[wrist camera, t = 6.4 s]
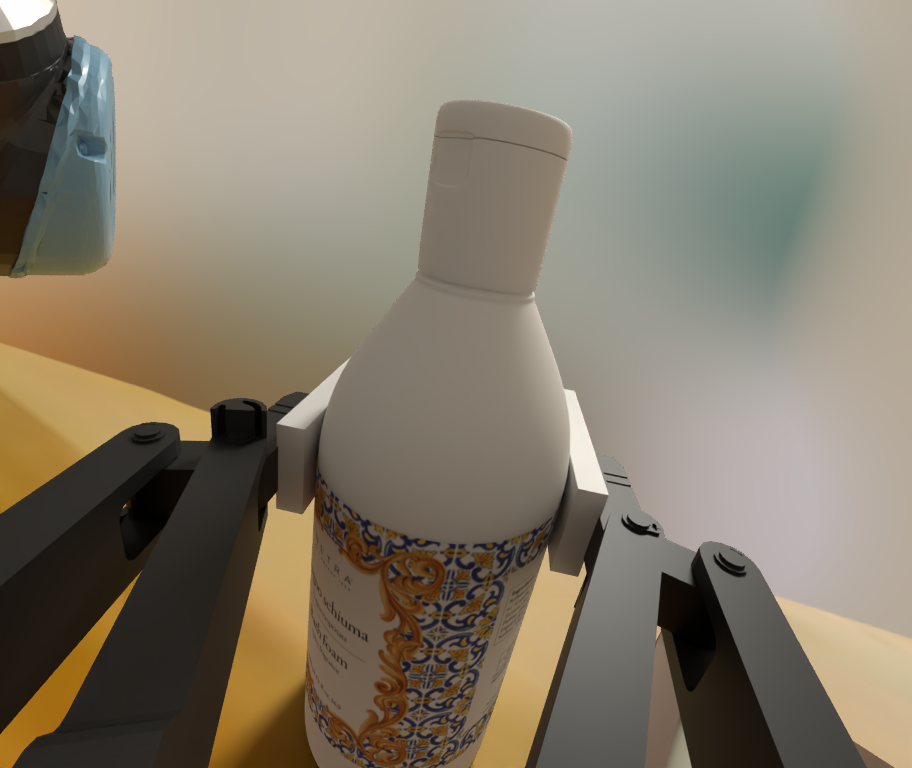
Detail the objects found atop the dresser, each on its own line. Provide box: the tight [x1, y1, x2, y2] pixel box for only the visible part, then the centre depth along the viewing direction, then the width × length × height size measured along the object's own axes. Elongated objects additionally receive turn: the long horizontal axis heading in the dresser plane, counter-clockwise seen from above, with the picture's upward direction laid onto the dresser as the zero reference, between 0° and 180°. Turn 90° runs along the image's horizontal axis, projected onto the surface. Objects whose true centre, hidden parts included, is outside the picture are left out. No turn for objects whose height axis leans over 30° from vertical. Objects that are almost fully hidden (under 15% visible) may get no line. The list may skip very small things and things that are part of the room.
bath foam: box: [305, 100, 573, 768], centre depth 13 cm, size 7×7×20 cm
